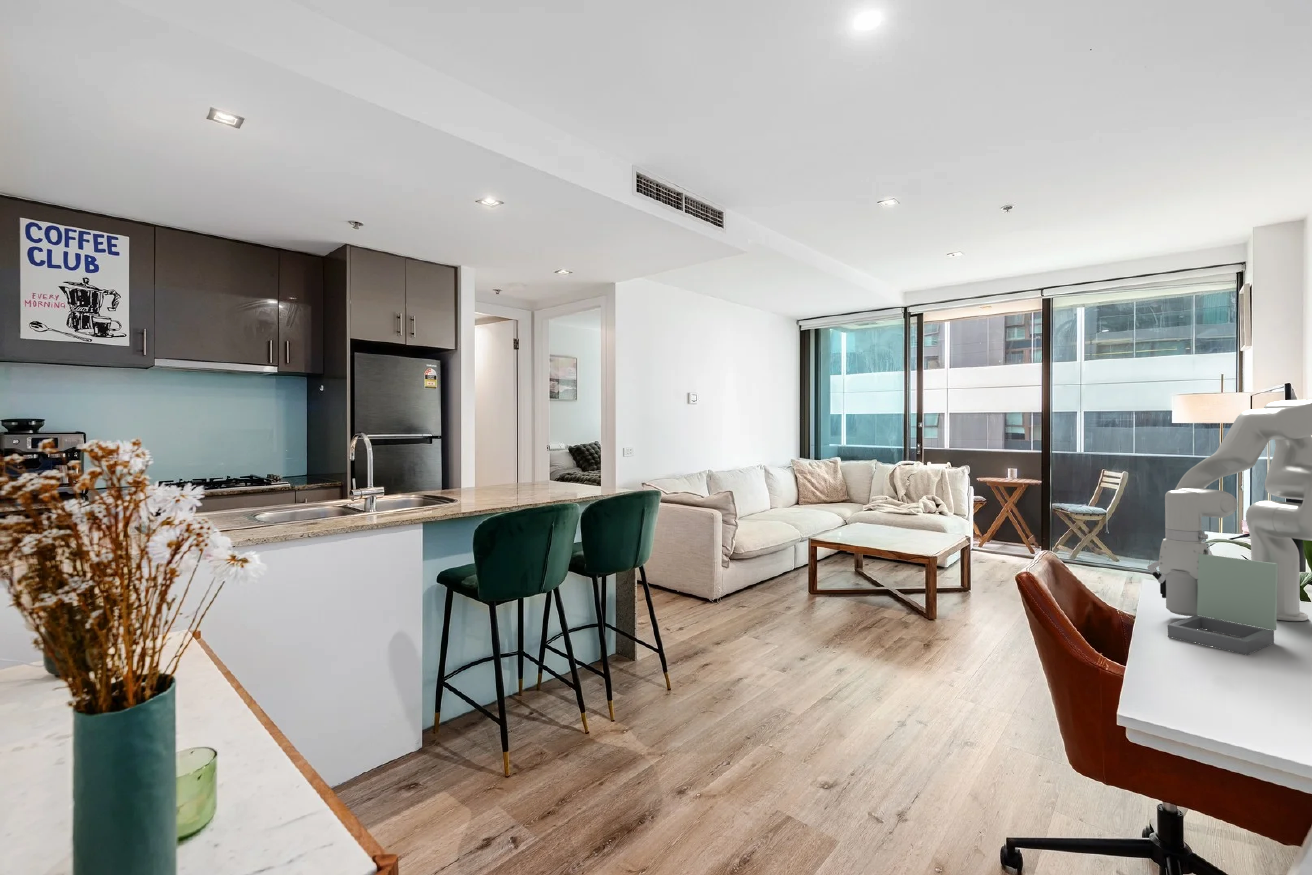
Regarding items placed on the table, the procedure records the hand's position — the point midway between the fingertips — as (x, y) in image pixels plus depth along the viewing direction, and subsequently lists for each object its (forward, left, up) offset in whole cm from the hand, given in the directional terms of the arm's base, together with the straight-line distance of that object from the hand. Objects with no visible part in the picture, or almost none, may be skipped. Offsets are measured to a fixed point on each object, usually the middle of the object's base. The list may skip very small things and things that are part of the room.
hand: (1183, 600), depth 169 cm
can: (0, 0, -4) cm, 4 cm away
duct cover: (+4, +12, +6) cm, 14 cm away
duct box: (+13, +12, -5) cm, 18 cm away
